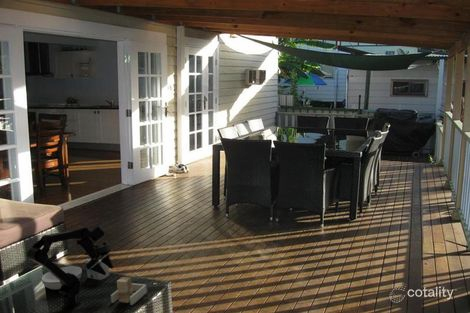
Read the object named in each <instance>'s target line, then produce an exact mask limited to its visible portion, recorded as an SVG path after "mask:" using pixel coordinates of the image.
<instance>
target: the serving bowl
mask: <svg viewBox="0 0 470 313" xmlns="http://www.w3.org/2000/svg"><path fill="white" fill-rule="evenodd" d="M59 268H60V269H62V270H63V271H64V272H65V273H66V274H67V273H71V274H74V275H75V276H76V277H77V278H79V280H80V279H81V277H82V274H83V270H82V268H81V267H79V266H76V265H75V266H74V265H73V266H63V267H59ZM41 281H42V284H43V285H44V286H45V288H48V289H50V290H60V288H61V286H62V284H61V283H60V280H59V279H58V278H56V277H55V276H54V275H53V274H52V273H50V272H49V271H48V272H46V273H45V274H43V275H42V276H41Z"/></svg>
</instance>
